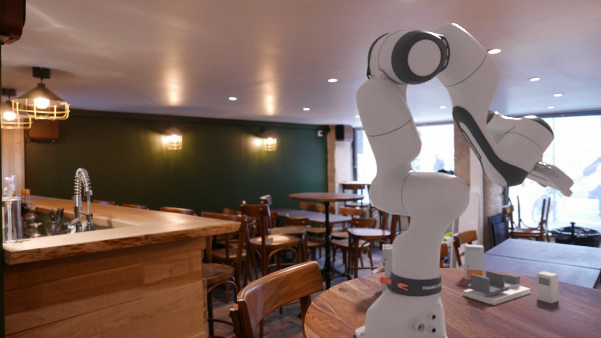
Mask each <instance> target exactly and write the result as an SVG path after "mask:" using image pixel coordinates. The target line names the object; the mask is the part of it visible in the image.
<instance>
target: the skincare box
mask: <svg viewBox="0 0 601 338" xmlns="http://www.w3.org/2000/svg"><path fill="white" fill-rule="evenodd" d="M463 257H464V258H463V259H464V263H463V264H464V267H463V270H464V271H463V272H464V273H463V277H464V279H465V280H470V281H471V274H474V275H478V276H482V277H485V276H484V269H485V267H484V266H485V247H484V245H482V244H467V243H465V244H464V256H463Z"/></svg>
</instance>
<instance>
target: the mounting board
mask: <svg viewBox="0 0 601 338" xmlns="http://www.w3.org/2000/svg"><path fill="white" fill-rule="evenodd" d="M462 292H463V294H462V296H464V297H467V298H470V299H473V300H476V301H480V302H482V303H485V304H489V305H491V304H492V305H491V306H497V305H500V304H501V303H505V302H508V301H511V300H514V299H517V298H520V297H523V296H526V295H529V294H531V288H529V287H526V286H522V285H520V286H518V287H514V288H511V289H509V290H508V291H504V292H501V293H498V294H495V295H488V296H485V297H482V296H479V295H476V294H473V290H472V289H468V288H467V289H464V290H462Z"/></svg>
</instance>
